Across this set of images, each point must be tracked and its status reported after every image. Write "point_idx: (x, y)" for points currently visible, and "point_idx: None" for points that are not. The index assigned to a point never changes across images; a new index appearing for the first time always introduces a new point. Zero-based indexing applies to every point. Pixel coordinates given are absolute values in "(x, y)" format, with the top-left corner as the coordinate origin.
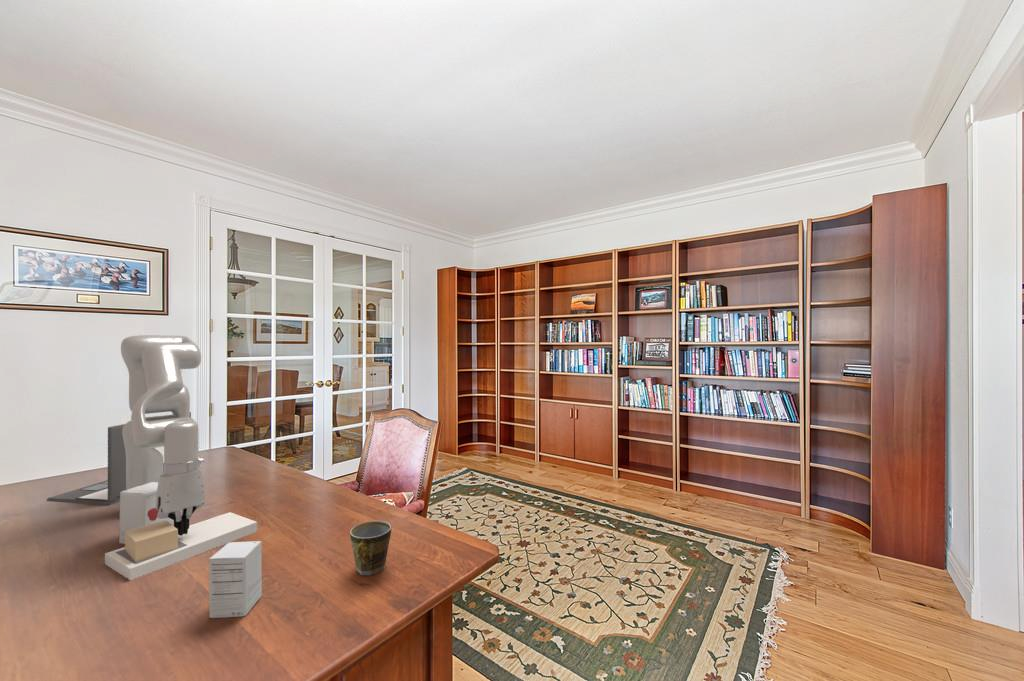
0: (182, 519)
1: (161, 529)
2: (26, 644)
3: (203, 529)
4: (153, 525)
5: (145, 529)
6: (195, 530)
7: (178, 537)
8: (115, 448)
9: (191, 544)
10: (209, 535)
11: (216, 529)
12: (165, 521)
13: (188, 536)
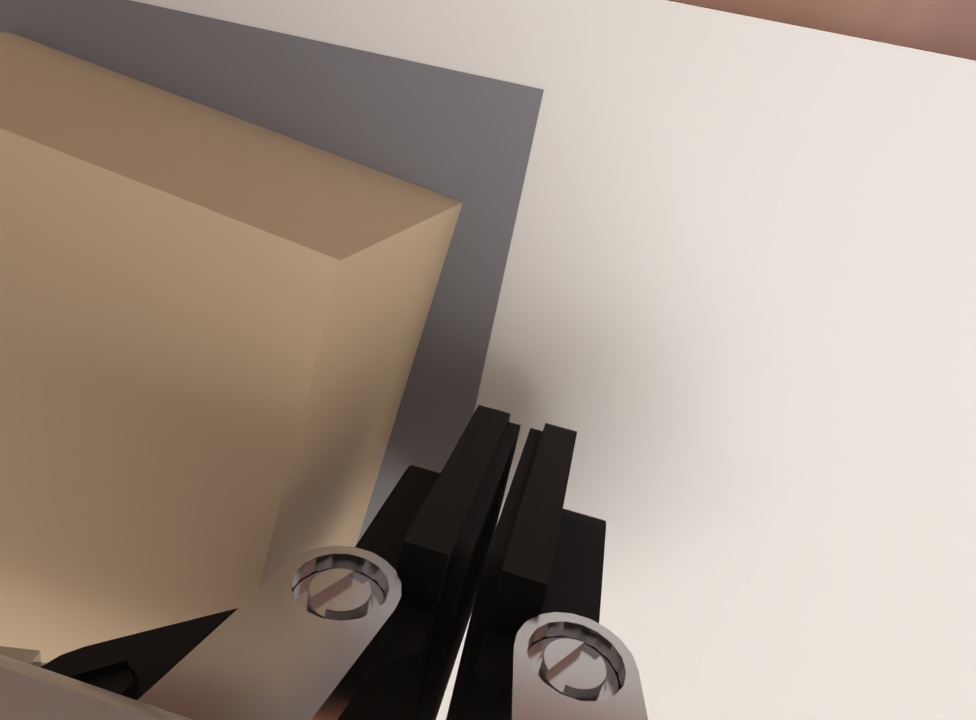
0: (459, 684)
1: (59, 636)
2: None
3: (876, 491)
4: (51, 308)
5: None
6: (814, 404)
7: (540, 375)
8: None
9: (449, 690)
10: (701, 714)
11: (905, 669)
12: (282, 357)
13: (606, 484)
